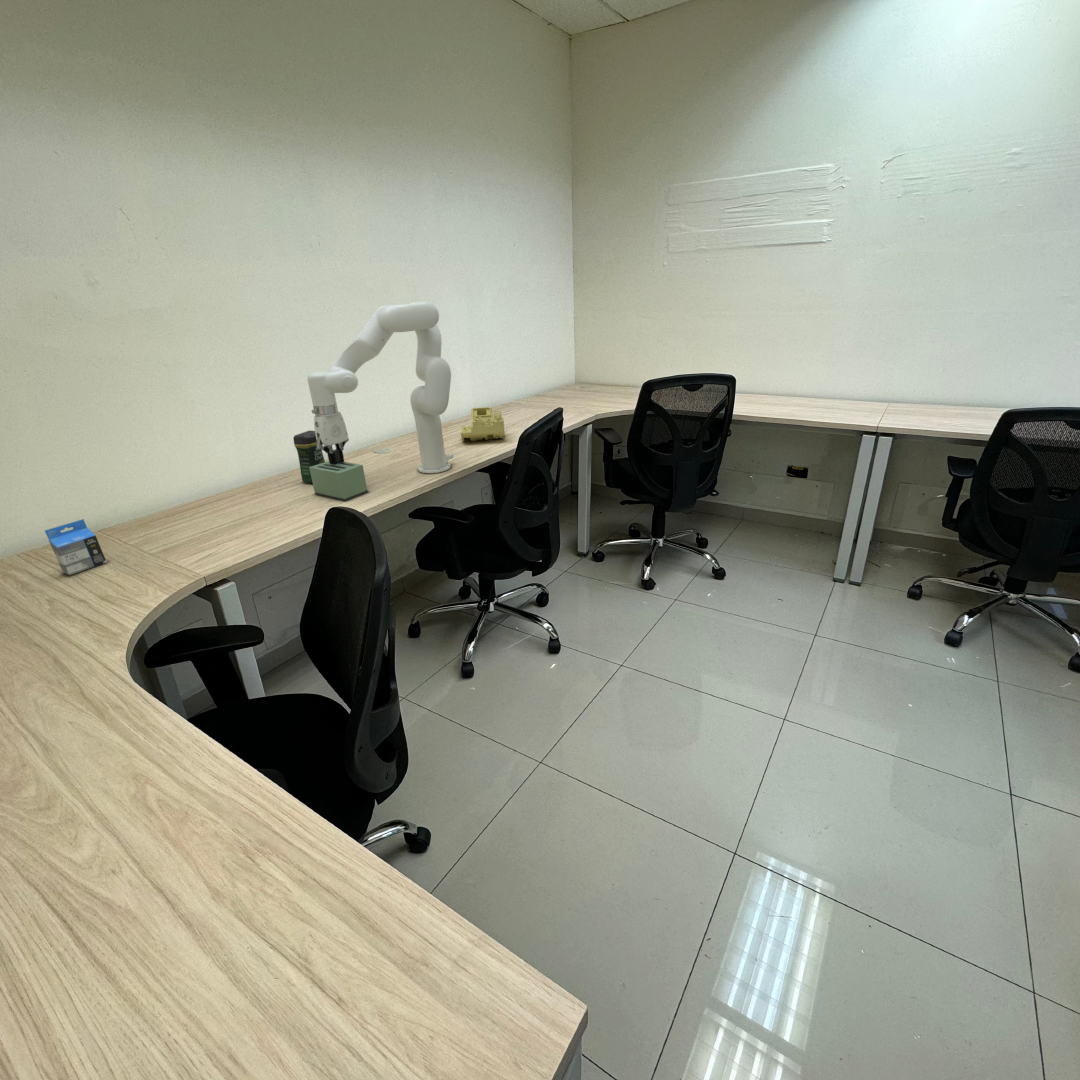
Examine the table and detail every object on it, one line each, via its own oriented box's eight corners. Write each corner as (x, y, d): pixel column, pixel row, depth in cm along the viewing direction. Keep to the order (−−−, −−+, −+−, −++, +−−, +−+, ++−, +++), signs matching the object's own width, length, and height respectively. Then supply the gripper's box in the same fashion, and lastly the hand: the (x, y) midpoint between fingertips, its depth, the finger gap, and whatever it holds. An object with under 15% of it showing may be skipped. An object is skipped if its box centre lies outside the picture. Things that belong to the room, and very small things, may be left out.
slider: (337, 460, 195) (335, 449, 194) (341, 460, 194) (339, 449, 193) (332, 462, 194) (329, 451, 192) (335, 462, 193) (333, 451, 191)
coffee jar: (316, 484, 205) (305, 435, 197) (299, 483, 207) (287, 434, 200) (333, 476, 213) (323, 429, 205) (316, 475, 216) (305, 428, 208)
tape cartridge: (69, 576, 144) (49, 533, 139) (63, 573, 146) (43, 530, 141) (107, 562, 151) (89, 521, 146) (101, 559, 153) (83, 518, 148)
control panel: (456, 405, 259) (498, 398, 261) (463, 436, 268) (503, 428, 269) (458, 424, 240) (503, 416, 241) (465, 456, 249) (508, 448, 250)
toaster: (338, 485, 202) (332, 459, 198) (368, 492, 194) (362, 464, 190) (315, 494, 195) (308, 467, 191) (345, 501, 187) (339, 472, 182)
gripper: (312, 415, 178) (325, 470, 186) (352, 406, 191) (362, 457, 198) (298, 414, 182) (310, 467, 190) (338, 404, 194) (348, 455, 202)
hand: (337, 462), depth 194 cm, fingers closed on slider, 2 cm apart
